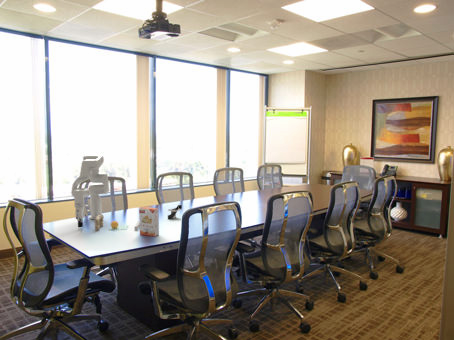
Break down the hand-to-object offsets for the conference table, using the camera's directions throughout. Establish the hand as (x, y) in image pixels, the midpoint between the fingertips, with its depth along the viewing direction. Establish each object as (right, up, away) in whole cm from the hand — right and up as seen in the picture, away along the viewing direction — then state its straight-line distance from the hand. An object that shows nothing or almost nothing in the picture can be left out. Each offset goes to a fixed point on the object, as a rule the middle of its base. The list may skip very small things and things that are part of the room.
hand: (80, 227), depth 299 cm
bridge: (+15, -1, +2) cm, 15 cm away
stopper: (+46, -1, +5) cm, 46 cm away
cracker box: (+60, -3, -19) cm, 63 cm away
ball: (+27, +2, +1) cm, 28 cm away
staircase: (+72, +1, +38) cm, 81 cm away
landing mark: (+31, -1, +3) cm, 31 cm away
